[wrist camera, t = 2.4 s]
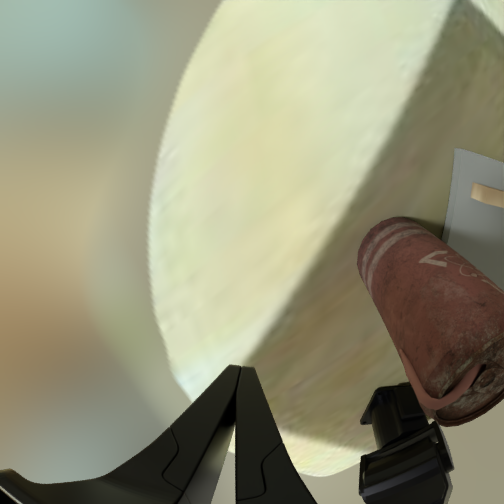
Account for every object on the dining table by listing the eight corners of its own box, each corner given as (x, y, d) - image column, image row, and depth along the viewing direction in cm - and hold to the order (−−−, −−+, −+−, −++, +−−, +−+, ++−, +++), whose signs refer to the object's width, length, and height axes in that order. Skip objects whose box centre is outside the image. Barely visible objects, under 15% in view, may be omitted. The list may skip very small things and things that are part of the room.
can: (343, 230, 20) (425, 371, 7) (419, 205, 18) (554, 298, 5) (360, 299, 22) (415, 450, 9) (428, 274, 20) (521, 395, 7)
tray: (502, 335, 22) (514, 350, 19) (408, 345, 23) (418, 366, 20) (547, 183, 15) (566, 189, 12) (454, 147, 16) (476, 150, 14)
